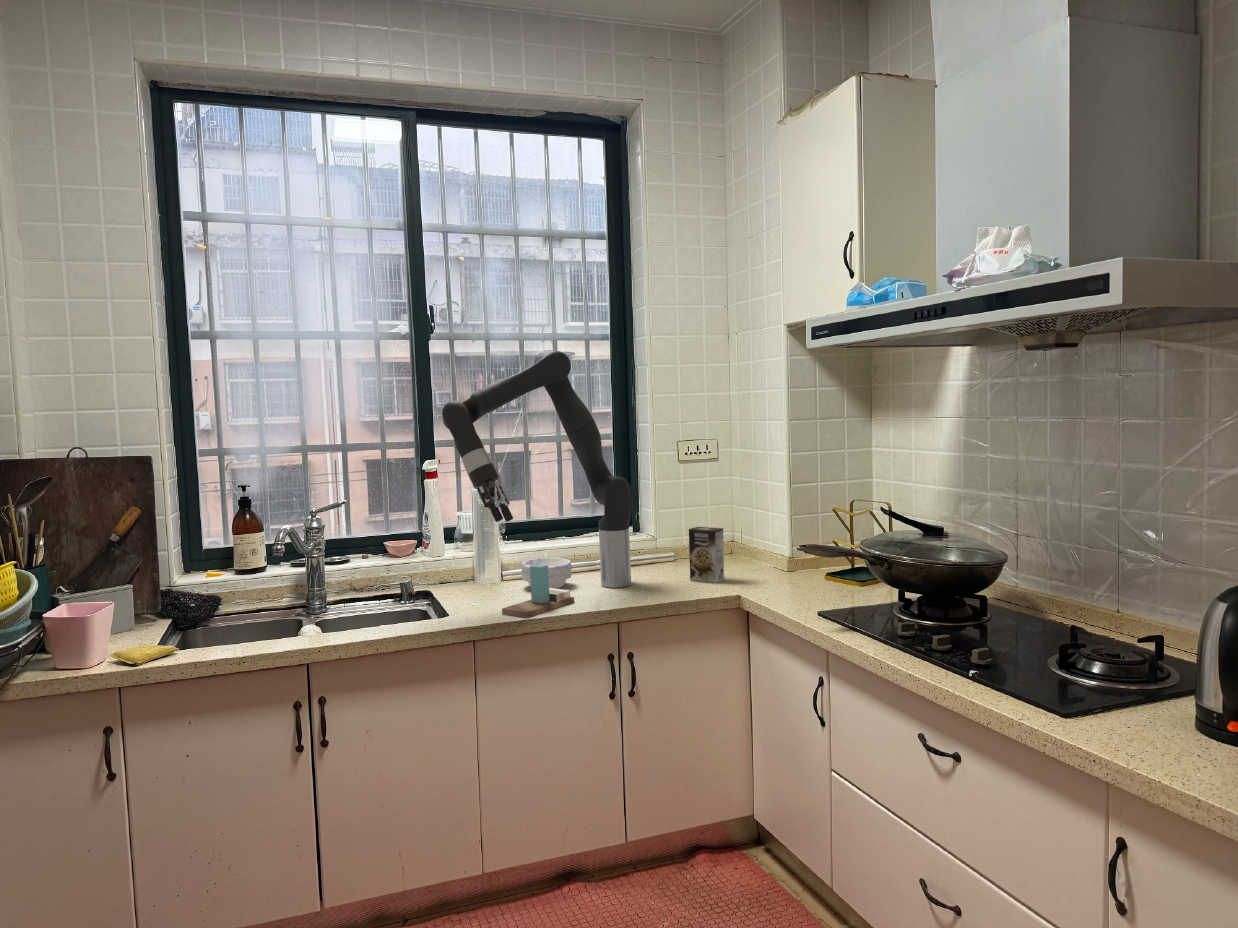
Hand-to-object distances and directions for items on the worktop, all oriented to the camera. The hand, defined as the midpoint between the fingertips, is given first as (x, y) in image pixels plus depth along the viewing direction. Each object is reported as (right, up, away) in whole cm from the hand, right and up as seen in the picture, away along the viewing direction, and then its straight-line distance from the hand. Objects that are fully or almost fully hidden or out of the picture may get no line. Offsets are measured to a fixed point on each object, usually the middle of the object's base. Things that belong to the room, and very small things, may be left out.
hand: (505, 520), depth 234 cm
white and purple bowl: (+9, -22, +27) cm, 37 cm away
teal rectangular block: (+10, -22, +1) cm, 24 cm away
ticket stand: (+10, -24, +1) cm, 26 cm away
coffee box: (+58, -20, +28) cm, 68 cm away
